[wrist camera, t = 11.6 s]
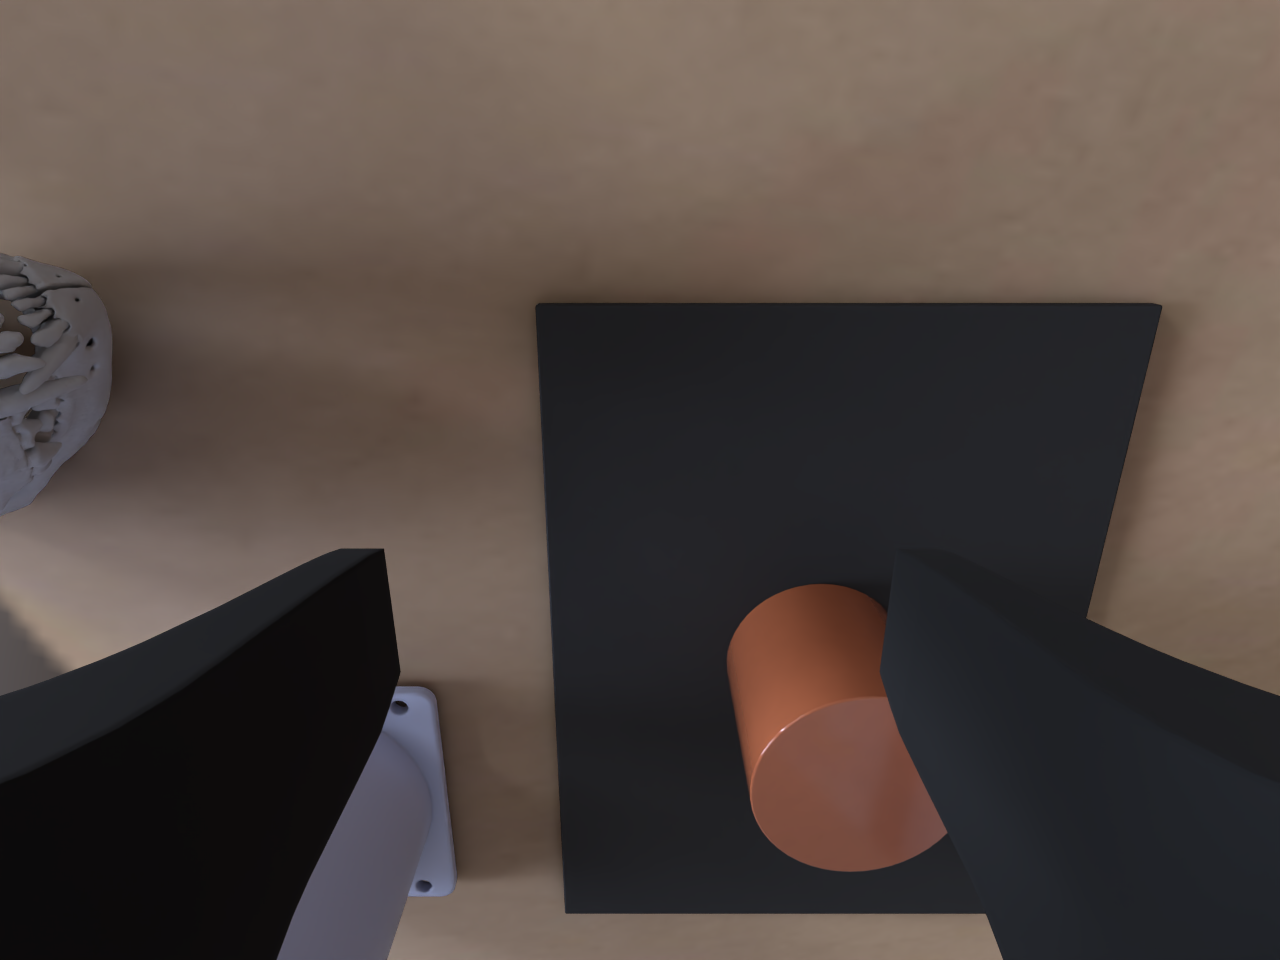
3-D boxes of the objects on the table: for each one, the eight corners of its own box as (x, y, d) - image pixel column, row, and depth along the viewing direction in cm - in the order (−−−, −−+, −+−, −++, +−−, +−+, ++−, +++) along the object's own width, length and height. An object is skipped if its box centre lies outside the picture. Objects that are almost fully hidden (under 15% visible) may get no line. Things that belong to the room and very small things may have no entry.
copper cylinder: (722, 731, 22) (744, 873, 18) (730, 582, 21) (756, 697, 16) (890, 731, 22) (956, 873, 18) (912, 582, 21) (991, 697, 16)
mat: (566, 903, 26) (565, 914, 25) (537, 303, 18) (535, 305, 18) (1008, 903, 26) (1014, 914, 25) (1153, 303, 18) (1163, 305, 18)
